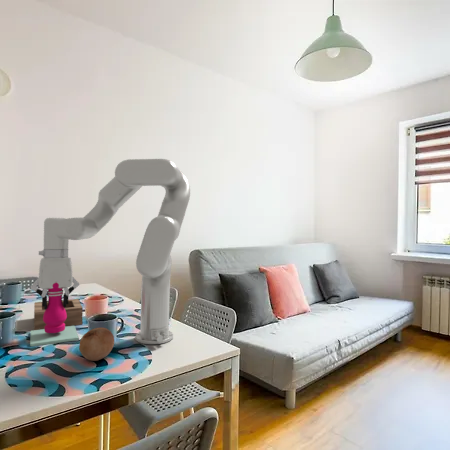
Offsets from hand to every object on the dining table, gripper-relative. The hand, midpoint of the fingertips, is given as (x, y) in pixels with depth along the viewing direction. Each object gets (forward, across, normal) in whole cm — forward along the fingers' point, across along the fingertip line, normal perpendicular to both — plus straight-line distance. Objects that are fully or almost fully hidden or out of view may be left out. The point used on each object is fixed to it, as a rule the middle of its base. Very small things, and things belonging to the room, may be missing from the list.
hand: (55, 306), depth 115 cm
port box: (+10, +2, +18) cm, 21 cm away
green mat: (+10, 0, 0) cm, 10 cm away
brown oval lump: (+10, +10, -25) cm, 29 cm away
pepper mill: (+8, 0, 0) cm, 8 cm away
